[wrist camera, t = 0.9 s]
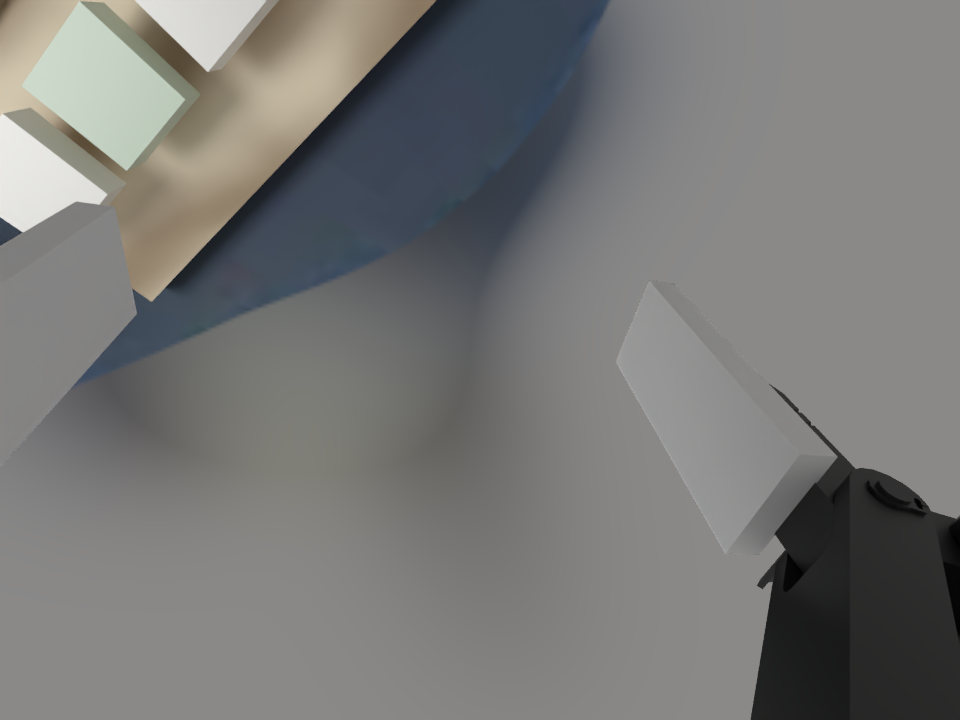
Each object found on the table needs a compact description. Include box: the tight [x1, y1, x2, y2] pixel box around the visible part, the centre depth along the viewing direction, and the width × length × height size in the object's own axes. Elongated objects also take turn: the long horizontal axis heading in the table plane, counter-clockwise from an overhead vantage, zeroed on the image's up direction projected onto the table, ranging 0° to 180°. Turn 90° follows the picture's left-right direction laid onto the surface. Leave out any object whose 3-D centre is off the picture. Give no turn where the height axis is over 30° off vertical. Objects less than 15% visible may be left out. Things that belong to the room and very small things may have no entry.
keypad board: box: [0, 0, 436, 302], centre depth 26 cm, size 14×28×3 cm, turn 130°
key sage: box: [22, 1, 201, 171], centre depth 24 cm, size 5×5×2 cm
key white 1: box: [0, 107, 127, 232], centre depth 26 cm, size 5×5×2 cm
